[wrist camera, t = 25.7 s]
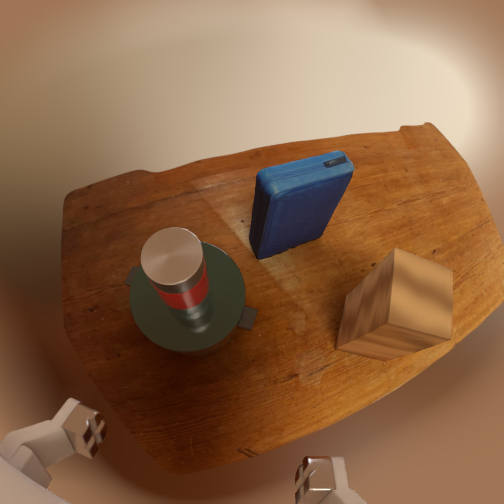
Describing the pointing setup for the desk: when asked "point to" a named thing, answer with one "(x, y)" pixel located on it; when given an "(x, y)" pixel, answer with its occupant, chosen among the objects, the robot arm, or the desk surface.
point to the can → (177, 269)
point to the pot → (198, 324)
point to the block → (398, 308)
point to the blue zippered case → (296, 201)
